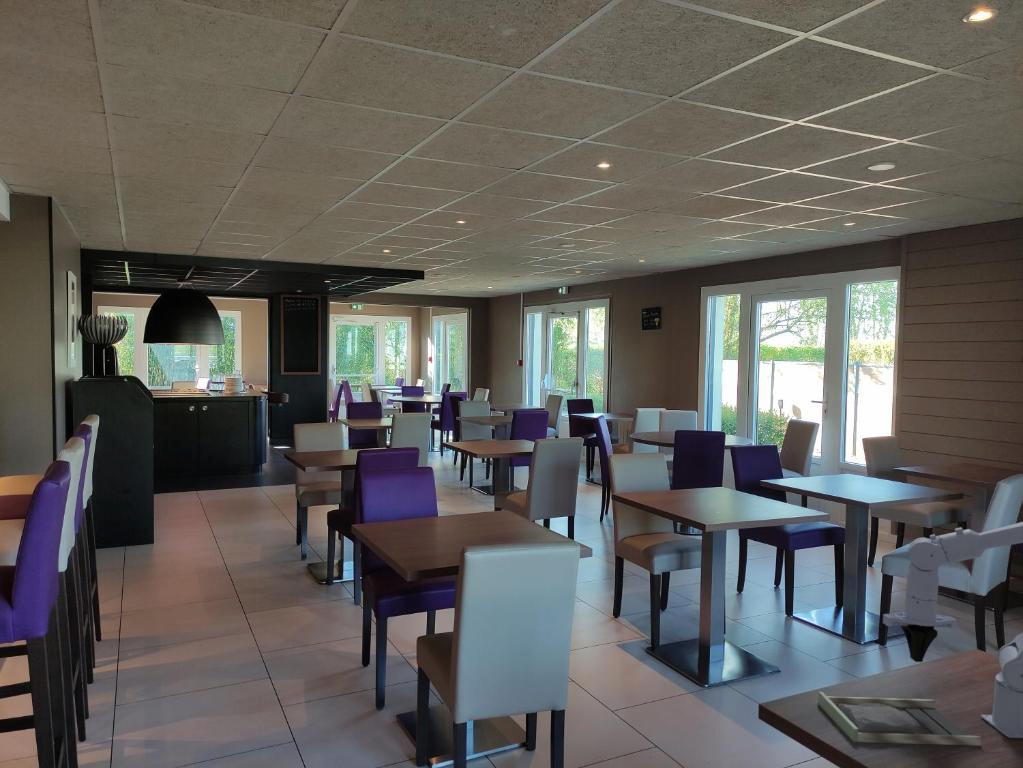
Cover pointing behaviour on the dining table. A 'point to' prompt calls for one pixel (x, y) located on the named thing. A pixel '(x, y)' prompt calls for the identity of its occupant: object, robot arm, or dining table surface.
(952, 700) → the dining table surface
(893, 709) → the stone block
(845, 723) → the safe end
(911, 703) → the grey cream flat frame
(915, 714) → the tiles
